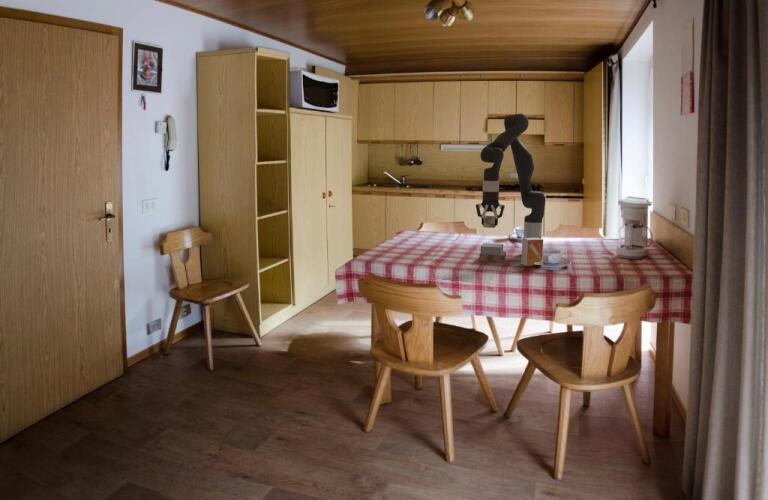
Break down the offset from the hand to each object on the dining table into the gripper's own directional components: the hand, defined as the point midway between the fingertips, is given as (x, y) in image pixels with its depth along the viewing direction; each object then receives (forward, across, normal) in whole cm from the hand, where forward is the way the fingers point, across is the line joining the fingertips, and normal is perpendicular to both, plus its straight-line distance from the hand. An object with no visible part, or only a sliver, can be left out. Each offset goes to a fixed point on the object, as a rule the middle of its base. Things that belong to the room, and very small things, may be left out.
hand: (489, 225), depth 289 cm
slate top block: (+16, 0, -15) cm, 21 cm away
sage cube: (0, 0, 0) cm, 0 cm away
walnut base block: (+20, 0, -15) cm, 25 cm away
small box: (+19, -20, -8) cm, 29 cm away
